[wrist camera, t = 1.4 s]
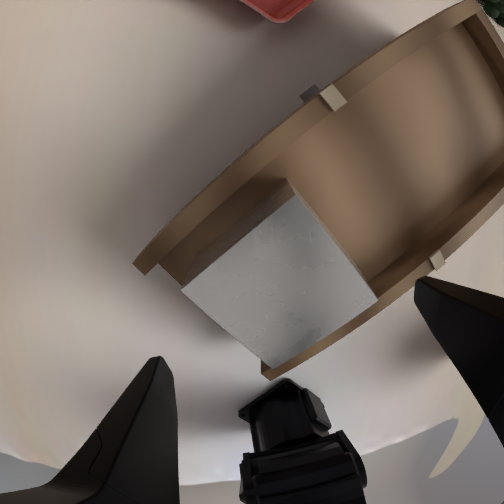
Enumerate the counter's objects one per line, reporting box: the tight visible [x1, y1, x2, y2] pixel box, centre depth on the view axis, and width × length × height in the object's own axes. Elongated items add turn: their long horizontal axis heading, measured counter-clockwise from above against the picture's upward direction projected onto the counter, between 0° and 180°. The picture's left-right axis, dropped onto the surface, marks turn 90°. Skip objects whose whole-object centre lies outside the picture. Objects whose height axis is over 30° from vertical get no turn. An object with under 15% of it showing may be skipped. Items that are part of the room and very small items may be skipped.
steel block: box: [180, 178, 378, 369], centre depth 16 cm, size 7×7×4 cm
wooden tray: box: [132, 0, 504, 381], centre depth 15 cm, size 27×13×4 cm, turn 132°
